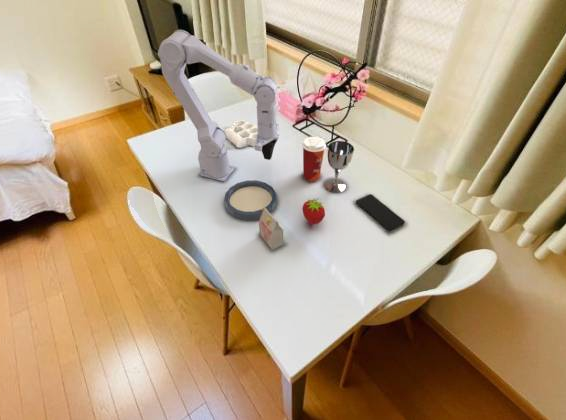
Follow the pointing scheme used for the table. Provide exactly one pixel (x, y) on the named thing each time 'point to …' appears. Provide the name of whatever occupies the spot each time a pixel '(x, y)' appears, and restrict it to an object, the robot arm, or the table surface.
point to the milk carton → (270, 230)
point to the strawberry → (313, 211)
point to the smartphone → (380, 212)
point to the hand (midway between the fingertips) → (267, 158)
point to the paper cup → (312, 157)
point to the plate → (250, 199)
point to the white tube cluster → (242, 133)
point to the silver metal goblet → (338, 163)
